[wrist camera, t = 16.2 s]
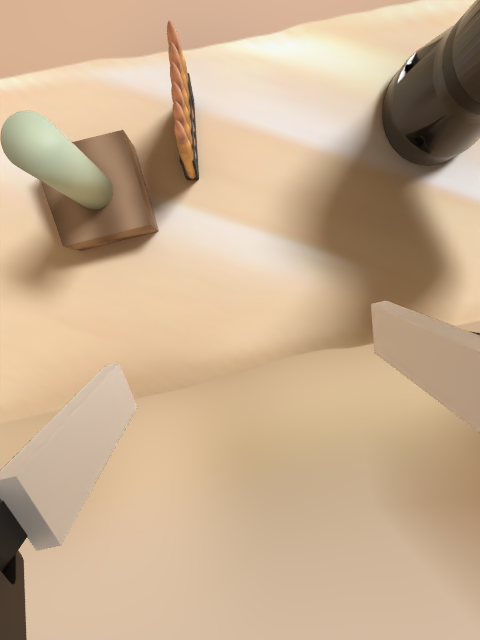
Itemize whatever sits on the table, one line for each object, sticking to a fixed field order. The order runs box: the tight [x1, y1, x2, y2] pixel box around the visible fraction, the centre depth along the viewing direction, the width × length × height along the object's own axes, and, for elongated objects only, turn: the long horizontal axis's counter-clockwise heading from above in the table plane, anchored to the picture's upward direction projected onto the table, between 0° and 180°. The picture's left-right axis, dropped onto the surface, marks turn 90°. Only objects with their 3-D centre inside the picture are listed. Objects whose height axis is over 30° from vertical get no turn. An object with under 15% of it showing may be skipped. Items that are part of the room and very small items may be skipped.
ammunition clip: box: [167, 21, 199, 180], centre depth 31 cm, size 11×2×12 cm, turn 3°
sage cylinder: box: [1, 111, 113, 210], centre depth 28 cm, size 5×5×11 cm
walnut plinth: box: [41, 130, 158, 251], centre depth 35 cm, size 12×12×4 cm
